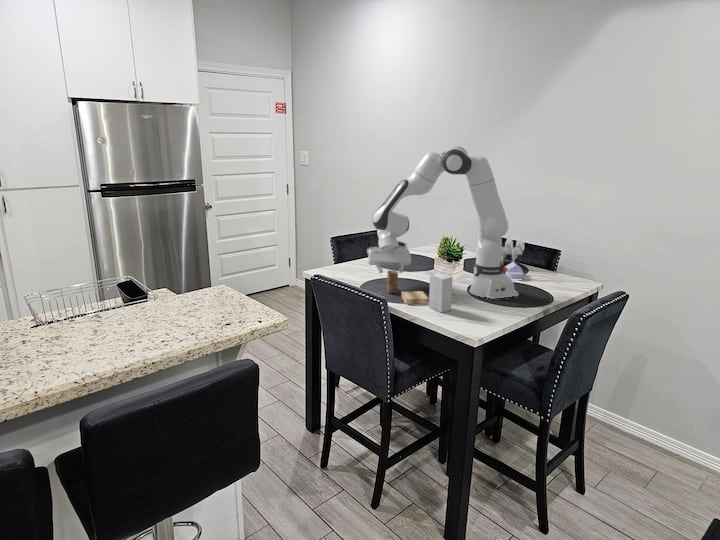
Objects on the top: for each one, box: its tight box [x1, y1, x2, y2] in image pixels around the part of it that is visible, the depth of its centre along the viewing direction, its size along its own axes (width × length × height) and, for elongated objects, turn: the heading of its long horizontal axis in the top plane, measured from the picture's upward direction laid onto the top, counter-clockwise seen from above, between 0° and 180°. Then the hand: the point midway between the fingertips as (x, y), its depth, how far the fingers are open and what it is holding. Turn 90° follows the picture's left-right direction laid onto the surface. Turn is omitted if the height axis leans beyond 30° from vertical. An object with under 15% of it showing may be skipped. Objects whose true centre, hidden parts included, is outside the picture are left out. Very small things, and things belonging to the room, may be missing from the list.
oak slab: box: [400, 290, 429, 305], centre depth 214 cm, size 10×10×3 cm
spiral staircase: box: [475, 235, 525, 266], centre depth 274 cm, size 18×18×25 cm
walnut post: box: [386, 270, 399, 294], centre depth 222 cm, size 4×4×10 cm
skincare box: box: [428, 272, 453, 314], centre depth 203 cm, size 8×6×15 cm
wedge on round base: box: [504, 261, 525, 279], centre depth 253 cm, size 9×7×13 cm
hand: (391, 272), depth 224 cm, fingers open, 8 cm apart
